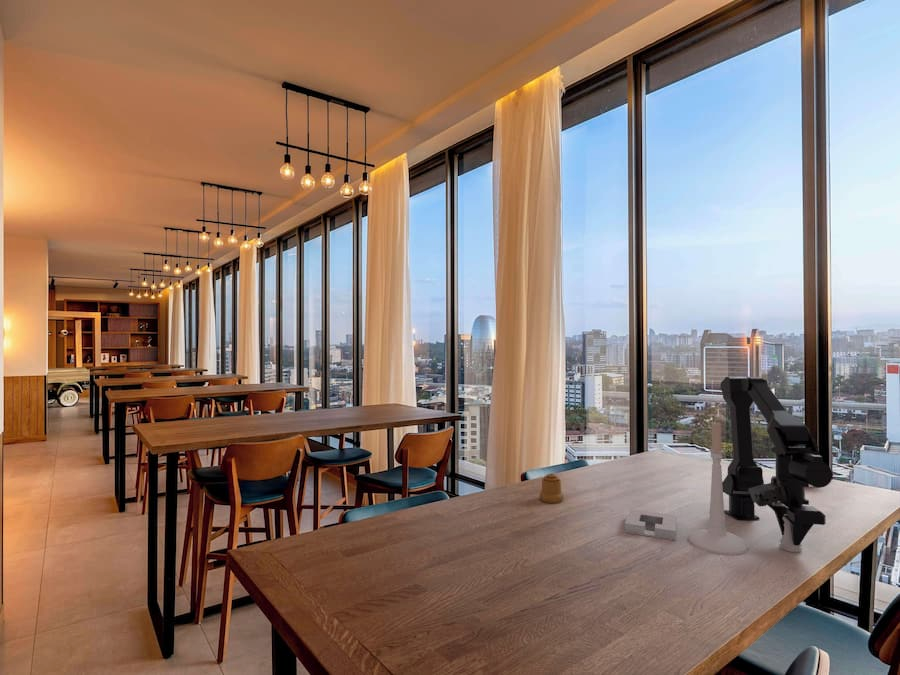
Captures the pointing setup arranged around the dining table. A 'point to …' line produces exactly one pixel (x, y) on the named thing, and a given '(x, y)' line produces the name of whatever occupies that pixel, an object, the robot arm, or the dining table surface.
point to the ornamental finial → (551, 489)
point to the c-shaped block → (651, 524)
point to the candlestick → (717, 510)
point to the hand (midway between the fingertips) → (790, 540)
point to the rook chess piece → (788, 539)
